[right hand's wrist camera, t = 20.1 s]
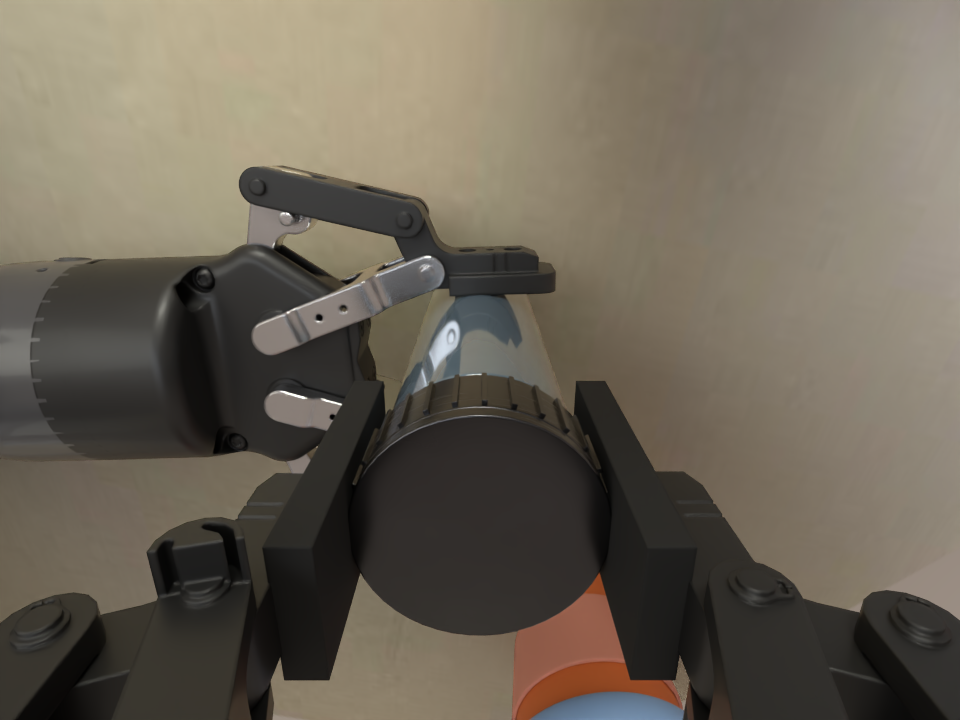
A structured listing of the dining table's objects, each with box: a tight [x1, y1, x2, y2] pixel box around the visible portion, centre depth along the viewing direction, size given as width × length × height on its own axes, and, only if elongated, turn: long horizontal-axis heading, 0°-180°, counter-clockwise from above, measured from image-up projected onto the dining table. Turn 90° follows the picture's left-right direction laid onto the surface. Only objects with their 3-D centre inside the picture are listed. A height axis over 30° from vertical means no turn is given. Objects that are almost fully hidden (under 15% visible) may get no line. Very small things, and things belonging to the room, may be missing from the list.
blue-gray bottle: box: [393, 289, 567, 410], centre depth 19 cm, size 5×5×16 cm
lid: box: [348, 373, 612, 635], centre depth 12 cm, size 5×5×2 cm
